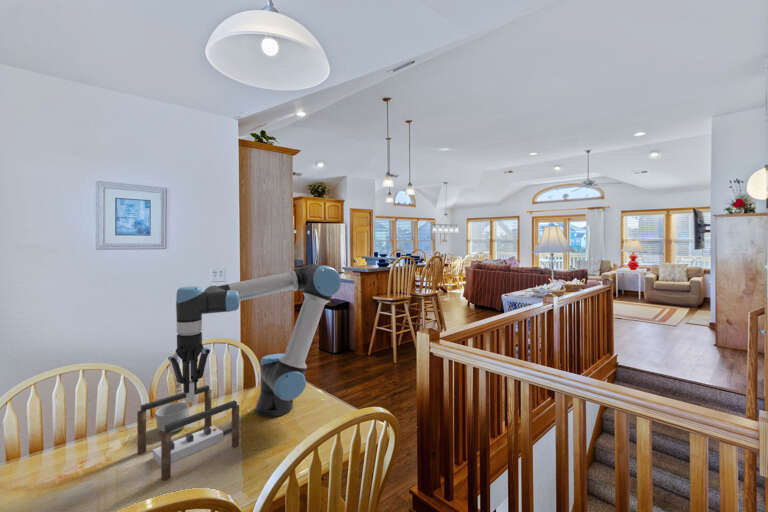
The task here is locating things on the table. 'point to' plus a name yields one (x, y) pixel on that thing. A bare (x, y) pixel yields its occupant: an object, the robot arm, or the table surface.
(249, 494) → the table surface
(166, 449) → the posts
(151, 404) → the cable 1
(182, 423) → the cable
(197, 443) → the switch strip
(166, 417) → the teacup
